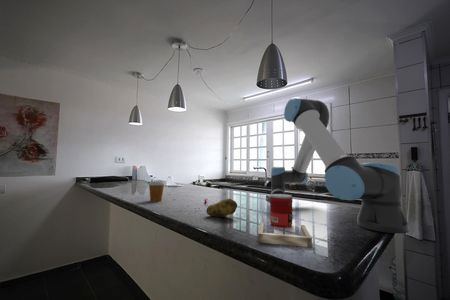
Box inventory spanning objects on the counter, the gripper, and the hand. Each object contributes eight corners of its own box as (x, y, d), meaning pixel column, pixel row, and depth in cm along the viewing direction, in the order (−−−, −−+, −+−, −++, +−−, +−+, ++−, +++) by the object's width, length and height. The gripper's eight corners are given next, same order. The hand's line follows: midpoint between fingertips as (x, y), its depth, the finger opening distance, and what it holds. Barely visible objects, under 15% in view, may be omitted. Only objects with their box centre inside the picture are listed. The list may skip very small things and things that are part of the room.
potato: (216, 213, 95) (216, 195, 95) (240, 218, 87) (240, 198, 88) (203, 216, 88) (204, 197, 89) (228, 221, 80) (228, 201, 81)
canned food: (293, 228, 73) (293, 197, 74) (270, 227, 74) (270, 196, 75) (291, 223, 80) (290, 194, 81) (270, 221, 82) (270, 193, 83)
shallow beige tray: (304, 232, 68) (304, 225, 69) (312, 247, 56) (311, 238, 56) (260, 229, 72) (260, 221, 72) (258, 242, 59) (258, 233, 59)
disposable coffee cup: (147, 200, 128) (148, 180, 129) (163, 199, 131) (164, 180, 132) (147, 202, 119) (148, 181, 120) (164, 202, 122) (165, 181, 123)
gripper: (291, 204, 106) (296, 215, 83) (265, 203, 109) (264, 213, 86) (291, 190, 107) (296, 196, 84) (265, 189, 110) (264, 194, 87)
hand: (280, 204), depth 85 cm, fingers closed
